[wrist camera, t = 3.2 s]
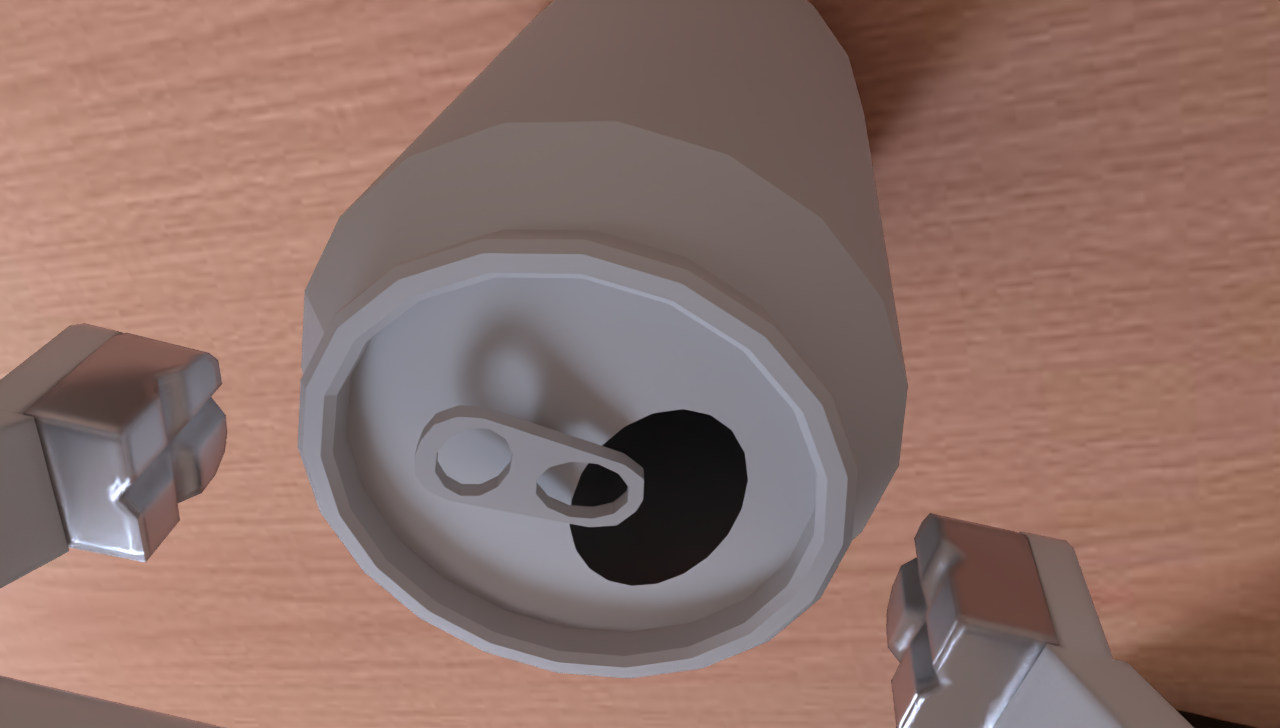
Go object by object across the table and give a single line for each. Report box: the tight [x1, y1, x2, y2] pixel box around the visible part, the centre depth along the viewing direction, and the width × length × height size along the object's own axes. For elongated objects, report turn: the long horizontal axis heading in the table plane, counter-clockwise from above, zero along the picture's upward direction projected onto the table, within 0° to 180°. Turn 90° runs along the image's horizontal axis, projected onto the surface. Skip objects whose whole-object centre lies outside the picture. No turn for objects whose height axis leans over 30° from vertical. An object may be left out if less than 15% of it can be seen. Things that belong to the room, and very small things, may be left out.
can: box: [298, 0, 908, 678], centre depth 15 cm, size 8×8×12 cm
